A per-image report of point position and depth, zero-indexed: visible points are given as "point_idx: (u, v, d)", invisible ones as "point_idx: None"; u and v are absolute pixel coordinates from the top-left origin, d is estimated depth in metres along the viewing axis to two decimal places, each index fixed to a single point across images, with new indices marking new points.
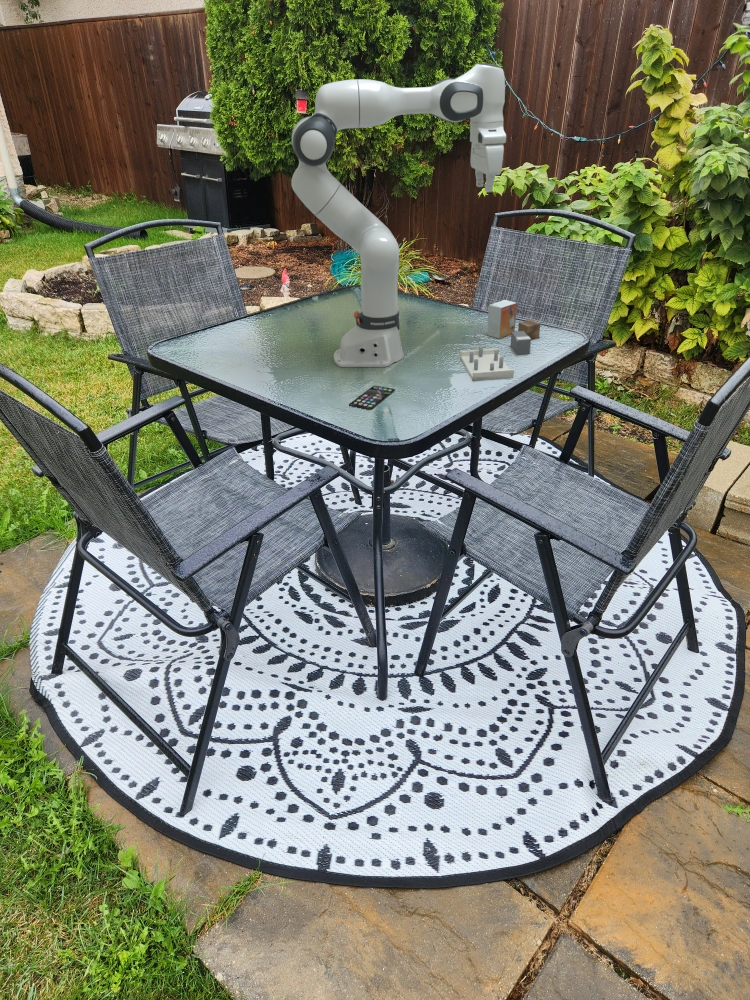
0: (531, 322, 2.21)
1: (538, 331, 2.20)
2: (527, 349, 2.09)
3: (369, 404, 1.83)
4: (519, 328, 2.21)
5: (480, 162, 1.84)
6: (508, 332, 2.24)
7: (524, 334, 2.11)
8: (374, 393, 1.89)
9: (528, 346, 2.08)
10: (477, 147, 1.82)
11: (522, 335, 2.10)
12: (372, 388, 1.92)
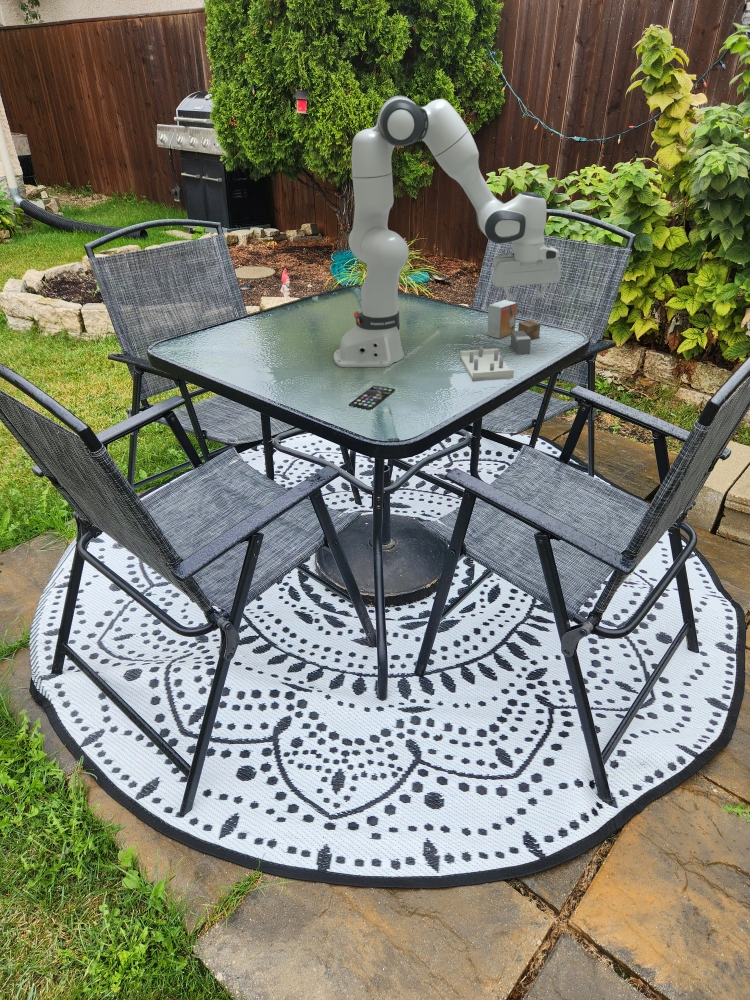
0: (531, 322, 2.21)
1: (538, 331, 2.20)
2: (527, 349, 2.09)
3: (369, 404, 1.83)
4: (519, 328, 2.21)
5: (532, 277, 1.99)
6: (508, 332, 2.24)
7: (524, 334, 2.11)
8: (374, 393, 1.89)
9: (528, 346, 2.08)
10: (534, 264, 1.96)
11: (522, 335, 2.11)
12: (372, 388, 1.92)
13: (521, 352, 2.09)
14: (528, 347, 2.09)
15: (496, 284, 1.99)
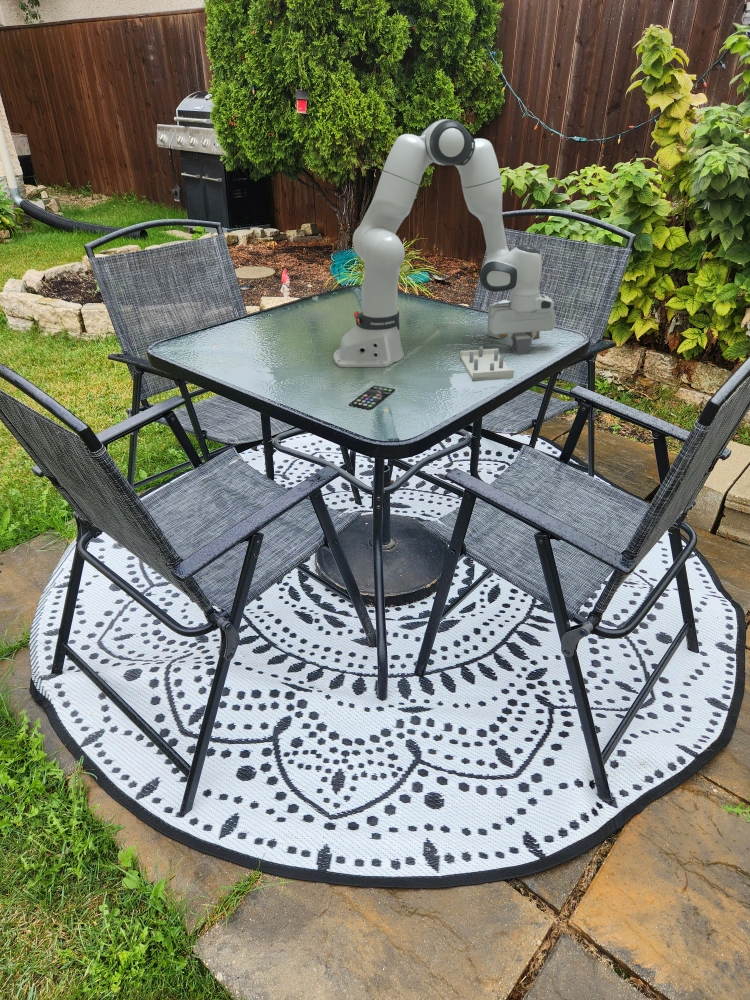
0: None
1: (538, 331, 2.20)
2: (527, 348, 2.09)
3: (369, 404, 1.83)
4: None
5: (527, 325, 2.07)
6: None
7: (524, 333, 2.11)
8: (374, 393, 1.89)
9: (528, 345, 2.09)
10: (530, 313, 2.04)
11: (522, 334, 2.11)
12: (372, 388, 1.92)
13: (521, 351, 2.10)
14: (528, 346, 2.09)
15: (493, 332, 2.07)
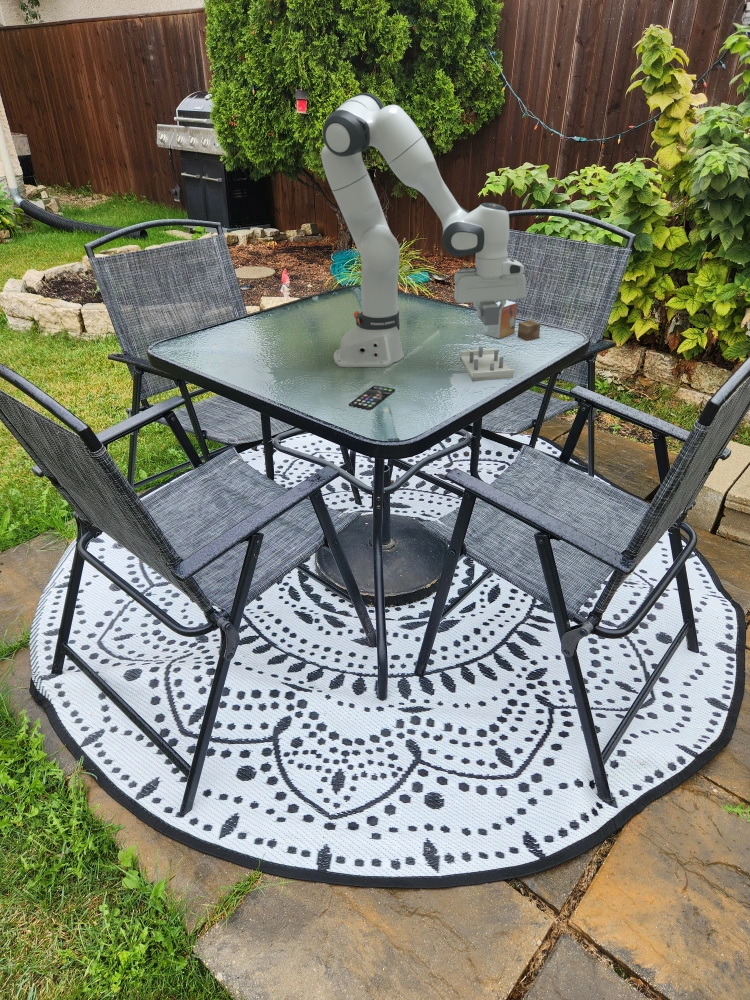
0: (531, 322, 2.21)
1: (538, 331, 2.20)
2: (496, 318, 1.90)
3: (369, 404, 1.83)
4: (519, 328, 2.21)
5: (496, 292, 1.88)
6: (508, 332, 2.24)
7: (492, 302, 1.93)
8: (374, 393, 1.89)
9: (496, 315, 1.90)
10: (498, 279, 1.85)
11: (490, 303, 1.92)
12: (372, 388, 1.92)
13: (489, 322, 1.91)
14: (497, 316, 1.90)
15: (458, 300, 1.88)
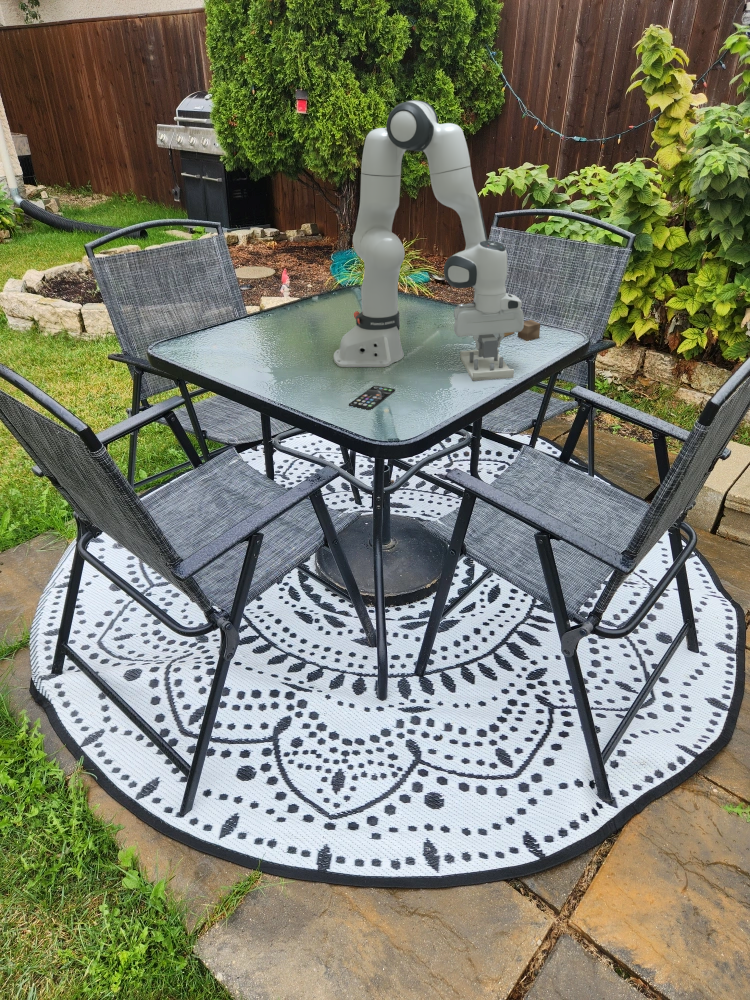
0: (531, 322, 2.21)
1: (538, 331, 2.20)
2: (494, 351, 1.96)
3: (369, 404, 1.83)
4: None
5: (494, 326, 1.94)
6: None
7: (491, 335, 1.98)
8: (374, 393, 1.89)
9: (495, 348, 1.95)
10: (496, 314, 1.91)
11: (489, 336, 1.98)
12: (372, 388, 1.92)
13: (488, 354, 1.96)
14: (495, 349, 1.96)
15: (458, 334, 1.94)
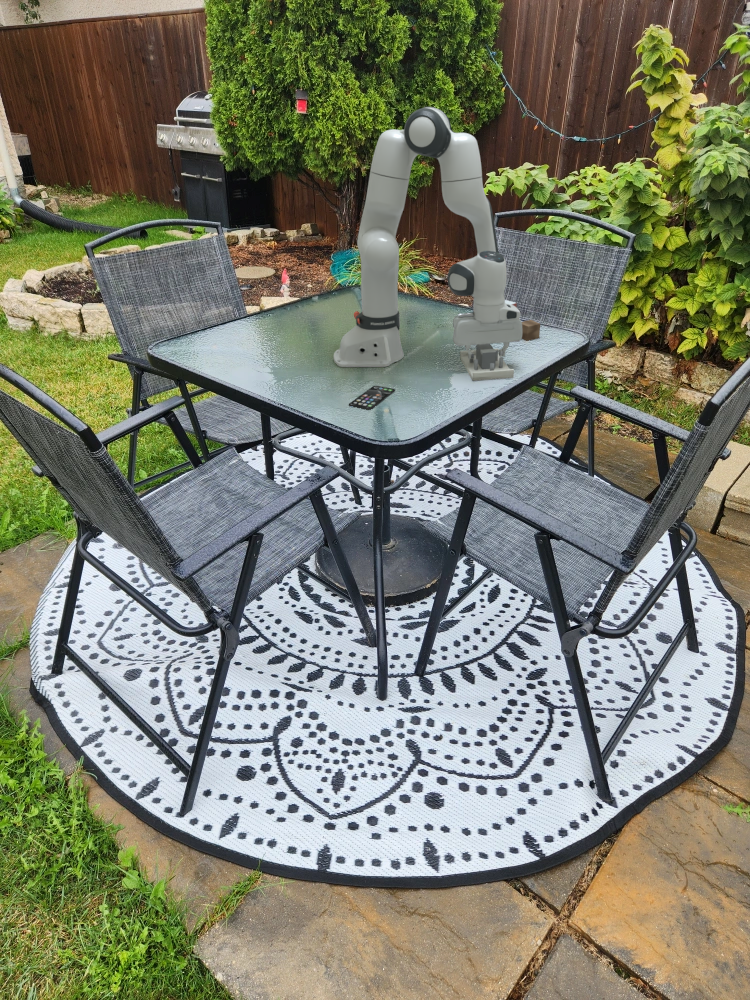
0: (531, 322, 2.21)
1: (538, 331, 2.20)
2: (493, 362, 1.98)
3: (369, 404, 1.83)
4: None
5: (493, 336, 1.95)
6: None
7: (489, 346, 2.00)
8: (374, 393, 1.89)
9: (493, 359, 1.97)
10: (495, 324, 1.92)
11: (487, 347, 1.99)
12: (372, 388, 1.92)
13: (486, 366, 1.98)
14: (493, 361, 1.97)
15: (456, 343, 1.95)
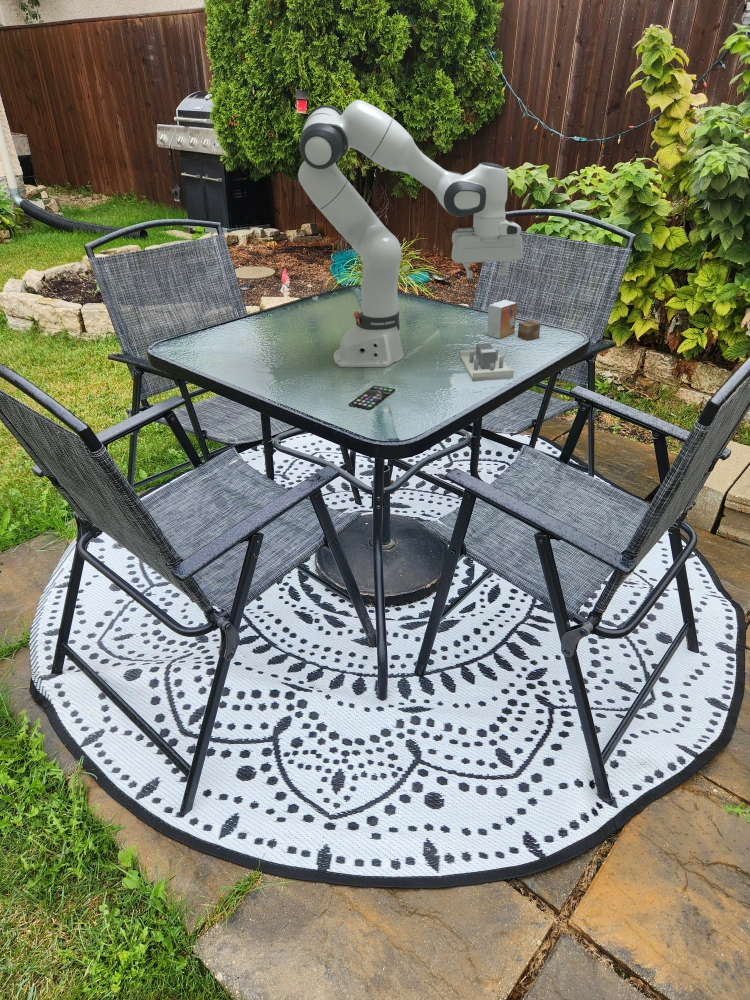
0: (531, 322, 2.21)
1: (538, 331, 2.20)
2: (493, 362, 1.98)
3: (369, 404, 1.83)
4: (519, 328, 2.21)
5: (492, 253, 1.90)
6: (508, 332, 2.24)
7: (489, 346, 2.00)
8: (374, 393, 1.89)
9: (493, 359, 1.97)
10: (495, 240, 1.87)
11: (487, 347, 1.99)
12: (372, 388, 1.92)
13: (486, 366, 1.98)
14: (493, 361, 1.97)
15: (455, 260, 1.90)
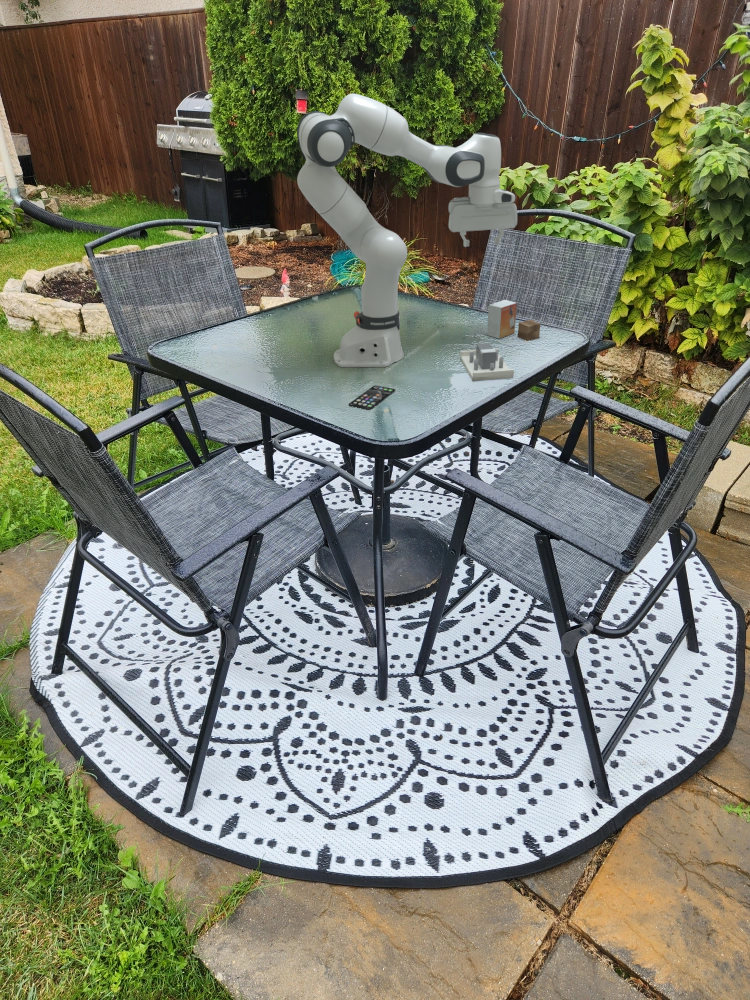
0: (531, 322, 2.21)
1: (538, 331, 2.20)
2: (493, 362, 1.98)
3: (369, 404, 1.83)
4: (519, 328, 2.21)
5: (488, 221, 1.97)
6: (508, 332, 2.24)
7: (489, 346, 2.00)
8: (374, 393, 1.89)
9: (493, 359, 1.97)
10: (490, 208, 1.94)
11: (487, 347, 1.99)
12: (372, 388, 1.92)
13: (486, 366, 1.98)
14: (493, 361, 1.97)
15: (452, 229, 1.97)
